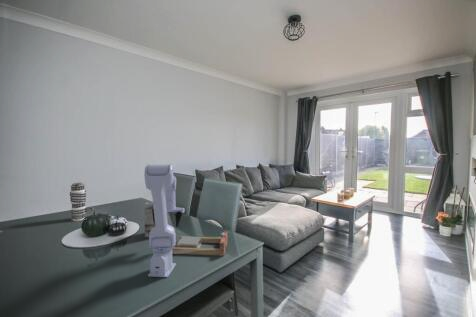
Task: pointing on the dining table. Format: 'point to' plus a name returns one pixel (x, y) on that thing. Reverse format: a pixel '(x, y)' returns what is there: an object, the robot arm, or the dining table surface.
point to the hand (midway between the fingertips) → (170, 226)
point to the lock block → (190, 242)
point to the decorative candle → (78, 201)
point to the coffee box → (149, 220)
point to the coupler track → (205, 251)
